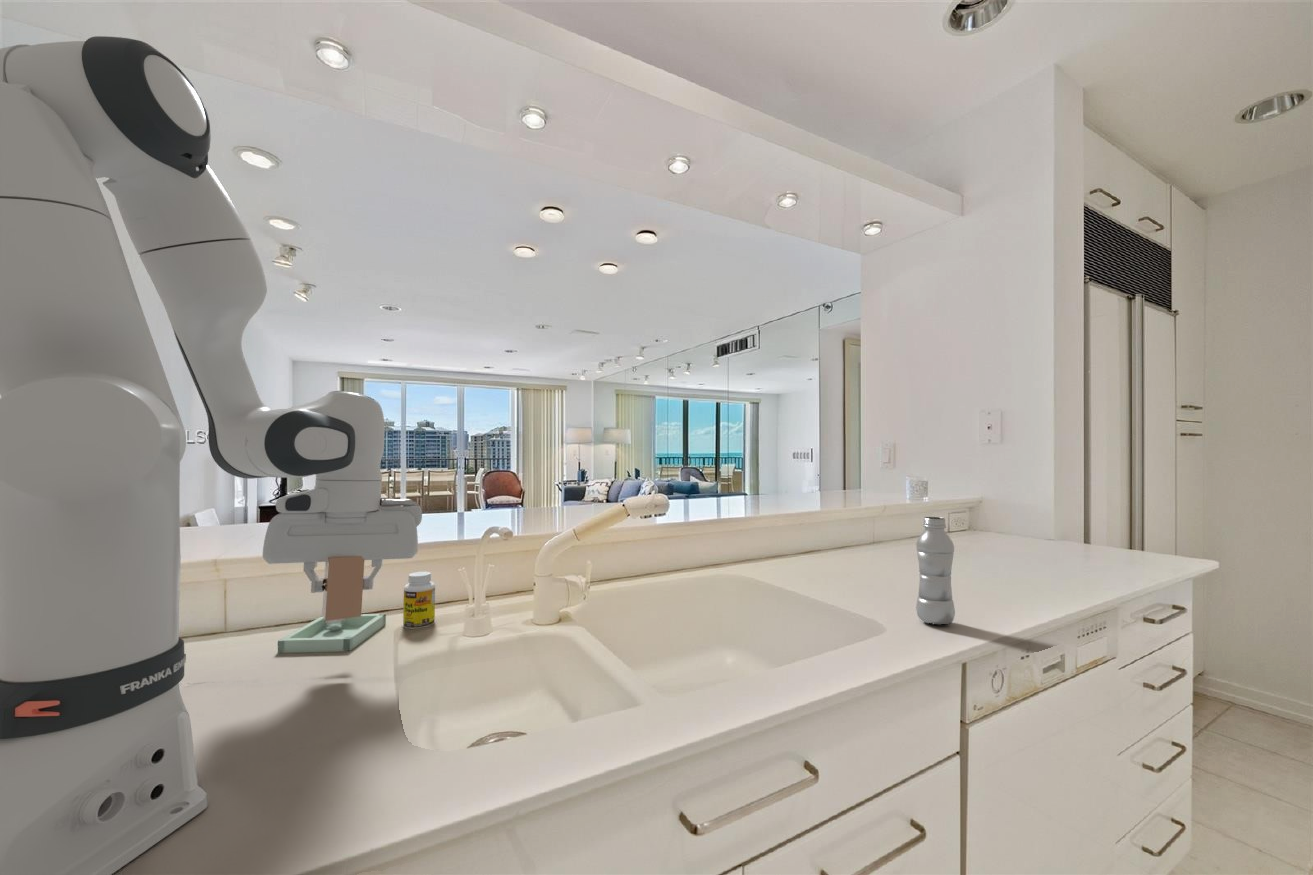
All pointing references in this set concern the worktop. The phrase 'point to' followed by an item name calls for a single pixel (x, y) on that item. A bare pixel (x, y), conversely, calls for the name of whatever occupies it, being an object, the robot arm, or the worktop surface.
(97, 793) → the robot arm
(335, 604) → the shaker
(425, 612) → the supplement bottle
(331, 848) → the worktop surface
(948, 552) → the plastic bottle
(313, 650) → the tray
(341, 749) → the worktop surface
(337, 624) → the mixing ball
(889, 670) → the worktop surface
